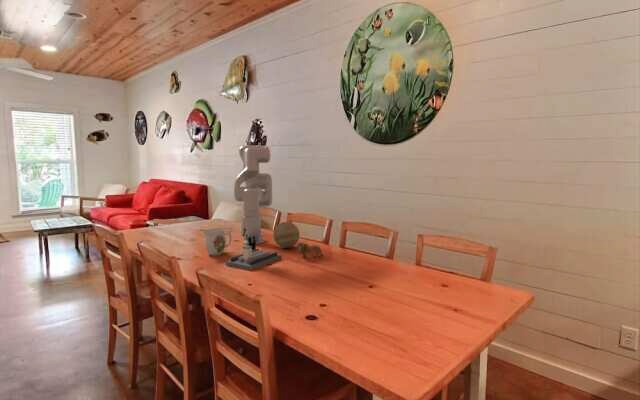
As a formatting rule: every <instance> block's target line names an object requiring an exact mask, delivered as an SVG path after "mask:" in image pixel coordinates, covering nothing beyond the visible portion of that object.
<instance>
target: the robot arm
mask: <svg viewBox="0 0 640 400" xmlns="http://www.w3.org/2000/svg"><path fill="white" fill-rule="evenodd" d="M238 152H239V153H238V154H239V157H240V159H241V161H242V164H243V165H242V171H241V172H240V173H239V174H238V175H237V176H236V179H235V181H234V185H233V186H234V187H233V188H234V189H233V195H234V200H235V201H236V202H240V203H243V216H242V220H241V237H243V240H242V243H243V244H245V245H248V246H252V251H253V250H256V249H257V248H256V246H257V245H261V244H263V243H264V242H265V240H264V239H263V238H265V237H266V234H265V233H262V215H261V214H262V213H261V212H260V208H261V207H263V208H264V207H265V208H266V207H270V206H271V205H272V204H273V179H272V176H271V174H269V173H264V172H263V173H260V164H261V163H262V164H268V163H269V162H270V160H271V150H270V148H269V146H268V145H255V144H253V145H251V144H250V145H241V146H240V147H239V148H238ZM243 183H245V184H244V185H245V186H241V185H242V184H243Z"/></svg>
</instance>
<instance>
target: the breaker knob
mask: <svg viewBox="0 0 640 400" xmlns="http://www.w3.org/2000/svg"><path fill="white" fill-rule="evenodd" d="M252 251H253V250H252V246H249V244H246V245H243V246H242V254H243V260H245V259H246V258H249V257H252Z"/></svg>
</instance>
